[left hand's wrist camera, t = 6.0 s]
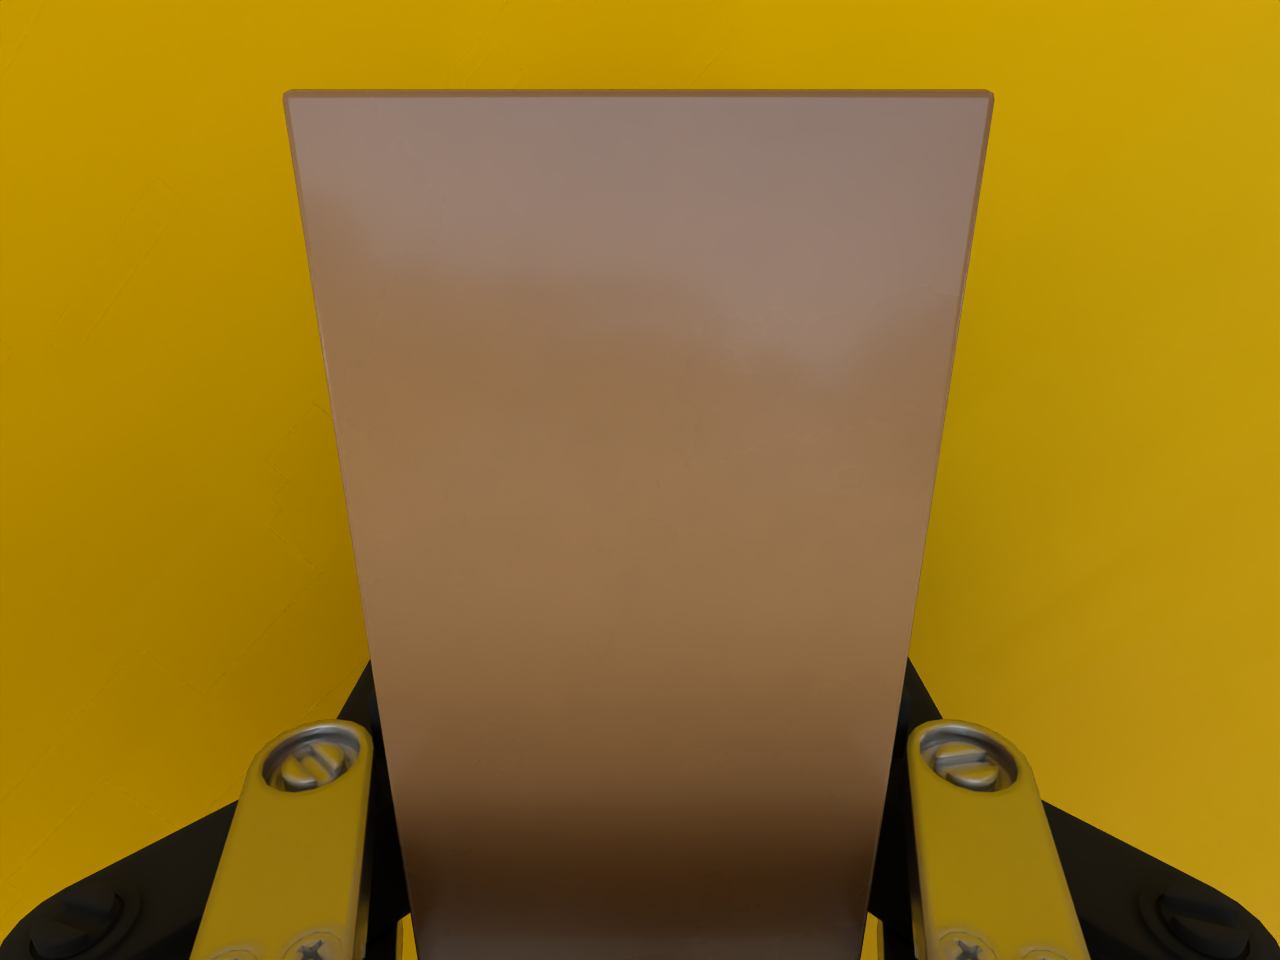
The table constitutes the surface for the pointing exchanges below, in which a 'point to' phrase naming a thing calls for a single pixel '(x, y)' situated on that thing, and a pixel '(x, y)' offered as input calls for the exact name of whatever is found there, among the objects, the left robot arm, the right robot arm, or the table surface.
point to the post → (638, 490)
